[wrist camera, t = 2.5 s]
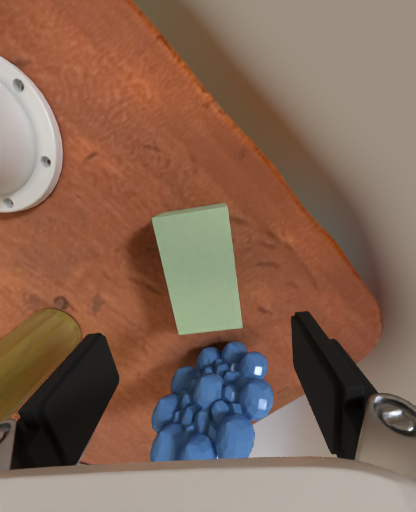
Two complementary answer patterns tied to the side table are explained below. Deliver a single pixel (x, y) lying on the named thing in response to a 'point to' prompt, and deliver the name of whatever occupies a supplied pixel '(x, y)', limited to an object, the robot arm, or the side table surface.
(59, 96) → the side table surface
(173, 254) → the pale sage-green block
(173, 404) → the grapes
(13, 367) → the vase
